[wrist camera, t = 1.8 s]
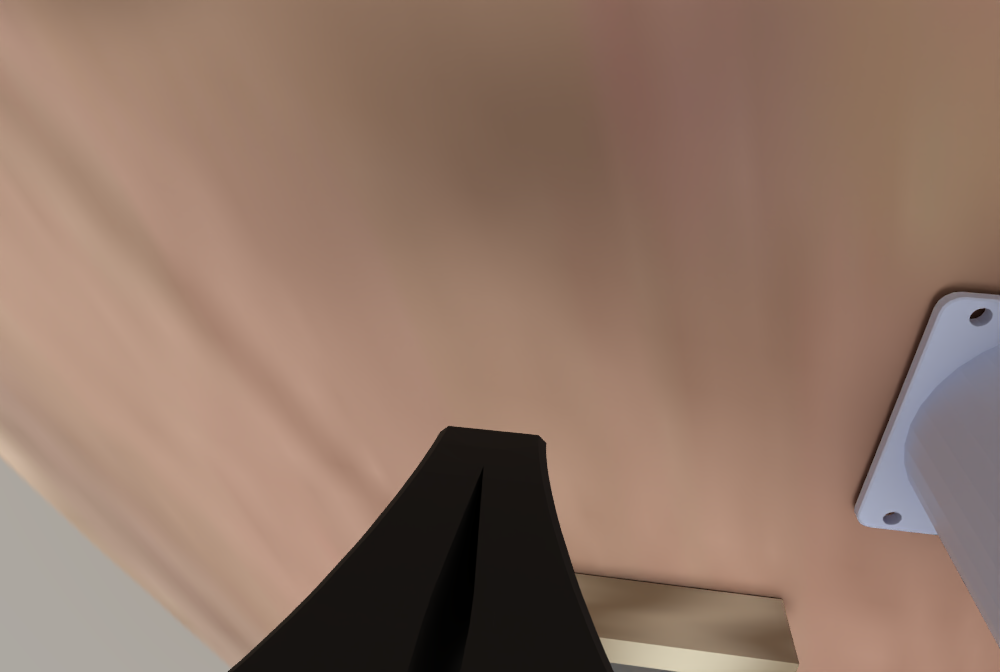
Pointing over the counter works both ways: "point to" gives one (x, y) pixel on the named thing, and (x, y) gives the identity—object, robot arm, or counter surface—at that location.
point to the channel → (688, 627)
